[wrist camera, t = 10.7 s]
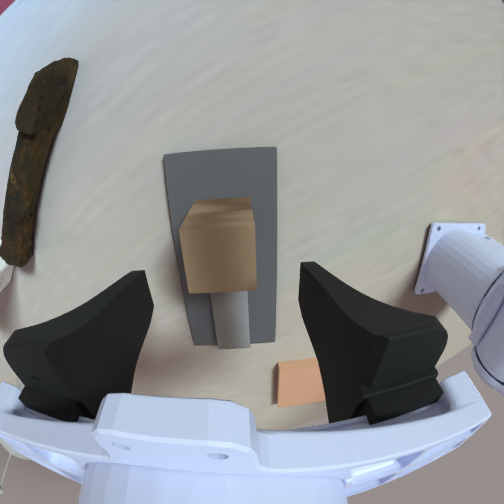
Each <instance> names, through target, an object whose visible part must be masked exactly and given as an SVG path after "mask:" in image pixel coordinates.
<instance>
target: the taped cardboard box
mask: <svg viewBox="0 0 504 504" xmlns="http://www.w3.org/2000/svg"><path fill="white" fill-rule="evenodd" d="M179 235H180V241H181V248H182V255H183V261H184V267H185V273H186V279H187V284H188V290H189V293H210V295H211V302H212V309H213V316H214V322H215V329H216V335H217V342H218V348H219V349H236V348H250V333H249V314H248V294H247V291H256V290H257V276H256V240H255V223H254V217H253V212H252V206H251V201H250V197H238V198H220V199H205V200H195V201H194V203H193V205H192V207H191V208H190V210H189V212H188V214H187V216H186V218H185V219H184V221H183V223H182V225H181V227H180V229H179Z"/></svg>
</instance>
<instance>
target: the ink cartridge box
mask: <svg viewBox="0 0 504 504" xmlns="http://www.w3.org/2000/svg"><path fill="white" fill-rule="evenodd" d="M1 243H2V240H1V239H0V245H1ZM13 268H14V265H8V264H6V262H5V261H4V260H3V259H2V258H1V257H0V292H1V291H2V290H3V289H4V288H5V287H6V286H7V285H8V283H9V282H10V281H11V277H12V272H13Z"/></svg>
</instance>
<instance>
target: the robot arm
mask: <svg viewBox="0 0 504 504" xmlns="http://www.w3.org/2000/svg"><path fill="white" fill-rule="evenodd" d="M437 228H438V229H437ZM485 229H486V225H485V224H483V223H432V224H431V226H430V230H429V235H428V239H427V244H426V248H425V253H424V257H423V261H422V265H421V268H420V272H419V276H418V279H417V283H416V286H415V289H414V292H415V293H416V294H417V295H419V294H425V293H430V292H436V291H437V293H438V294H439V295H440V296H441V297H442V298H443V299H444V300H445V301H446V302H447V303H448V304H449V305H450V307H451V308H452V309H453V310H454V311H455V312H456V313H457V314H458V316H459V317H460V318H461V319H462V320H463V321H464V322H465V324H466V325H467V326H468V327H469V328H470V329H471V331H472V332H471V334H470V336H469V339H470V340H471V342H472V343H473V344H474V346H473V348H472V351H471V356H472V361H473V366H474V368H475V371H476V372H477V374H478V376H479V377H480V378H481V379H482V380H483V382H485V383H486V384H487V385H488V386H489V387H491V388H493V389H495V390H497V391H498V392H499V393H500V394H502V395H503V396H504V246H503V245H501V244H500V243H498V242H497V241H495V240H494V239H492V238H491V237H489V236H488V235H486V234H485ZM298 300H299V305H300V310H301V314H302V318H303V321H304V324H305V326H306V329H307V332H308V335H309V337H310V340H311V343H312V345H313V348H314V351H315V354H316V357H317V360H318V365H319V369H320V374H321V378H322V383H323V388H324V394H325V400H326V406H327V412H328V419H329V424H324V425H318V426H312V427H305V428H298V429H290V430H263V429H256V425H255V417H254V416H253V414H252V413H251V411H250V410H249V409H248V408H246V407H245V406H242V405H240V404H237V403H235V402H233V401H230V400H222V399H214V398H182V397H164V396H151V395H140V394H131V390H132V383H133V378H134V372H135V367H136V363H137V360H138V357H139V354H140V351H141V348H142V345H143V342H144V340H145V337H146V334H147V331H148V328H149V326H150V322H151V318H152V313H153V308H154V304H153V301H152V297H151V293H150V290H149V286H148V282H147V278H146V274H145V270H139V271H132V272H130V273H128V274H127V275H125V276H124V277H122V278H121V279H119V280H118V281H116V282H115V283H114V284H112V285H111V286H109V287H108V288H107V289H105V290H104V291H102V292H101V293H99V294H98V295H97V296H95V297H94V298H92V299H91V300H89V301H88V302H86V303H84V304H83V305H81V306H79V307H77V308H75V309H74V310H72V311H70V312H68V313H65V314H63V315H61V316H59V317H57V318H54V319H52V320H49V321H47V322H44V323H41V324H38V325H34V326H30V327H26V328H22V329H18V330H15V331H14V332H13V334H12V335H11V336H10V338H9V339H8V340H7V342H6V343H5V345H4V347H3V352H4V356H5V358H6V360H7V362H8V364H9V365H10V367H11V368H12V370H13V371H14V372H15V374H16V375H17V376H18V378H19V379H20V380H21V382H22V383H23V384H24V385H25V386H24V388H23V390H21V389H19V388H18V387H16V386H14V385H12V384H9V383H7V382H4V381H2V383H1V385H0V438H1V439H3V440H4V441H5V442H6V443H7V444H8V445H10V446H11V447H12V448H13V449H14V450H16V451H17V452H19V453H21V454H22V455H24V456H26V457H28V458H30V459H31V460H33V461H35V462H37V463H39V464H41V465H43V466H45V467H47V468H48V469H51V470H52V471H54V472H57V473H59V474H61V475H63V476H65V477H67V478H69V479H72V480H74V481H77V482H79V483H81V484H82V486H81V491H80V496H79V500H78V504H348V503H347V498H346V497H347V496H351V495H354V494H357V493H360V492H363V491H366V490H369V489H372V488H374V487H377V486H380V485H382V484H385V483H387V482H390V481H392V480H395V479H397V478H399V477H401V476H404V475H406V474H408V473H410V472H412V471H414V470H416V469H418V468H420V467H422V466H424V465H426V464H428V463H430V462H432V461H434V460H436V459H438V458H440V457H441V456H443V455H445V454H447V453H448V452H450V451H452V450H454V449H455V448H457V447H459V446H460V445H461V444H462V443H464V442H465V441H466V440H467V439H468V438H469V437H470V436H471V435H472V434H473V433H475V432H476V431H477V429H479V428H480V427H481V426H482V425H483V424H484V423H485V422H486V421H487V419H489V418H490V417H491V412H490V410H489V409H488V407H487V405H486V404H485V402H484V400H483V399H482V397H481V395H480V394H479V392H478V390H477V389H476V387H475V386H474V384H473V383H472V381H471V379H470V378H469V376H468V375H467V374H466V372H465V371H462V372H460V373H457V374H455V375H453V376H450V377H448V378H446V379H444V380H443V381H442V382H440V383H438V381H437V380H436V377H437V375H438V372H437V370H436V369H435V365H436V364H437V362H438V360H439V358H440V356H441V355H442V353H443V351H444V349H445V346H446V344H447V339H448V334H447V331H446V329H445V328H444V327H443V326H442V324H441V323H440V322H439V321H438V319H437V318H436V317H435V316H430V315H425V314H419V313H414V312H410V311H406V310H403V309H399V308H396V307H393V306H390V305H387V304H385V303H382V302H379V301H377V300H375V299H373V298H371V297H369V296H366V295H364V294H362V293H361V292H359V291H357V290H355V289H354V288H352V287H350V286H349V285H347V284H345V283H344V282H342V281H341V280H339V279H338V278H337V277H335V276H334V275H332V274H331V273H329V272H328V271H327V270H325V269H324V268H323V267H321V266H320V265H318V264H317V263H315V262H301V266H300V283H299V297H298Z"/></svg>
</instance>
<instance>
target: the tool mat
mask: <svg viewBox="0 0 504 504" xmlns="http://www.w3.org/2000/svg"><path fill="white" fill-rule="evenodd" d="M164 166H165V176H166V185H167V193H168V202H169V209H170V217H171V224H172V231H173V237H174V244H175V250H176V256H177V262H178V268H179V273H180V279H181V284H182V289H183V294H184V299H185V304H186V309H187V314H188V318H189V323H190V327H191V332H192V336H193V340H194V345H218V342H217V335H216V329H215V322H214V316H213V309H212V302H211V295H210V293H189V290H188V284H187V279H186V273H185V267H184V261H183V255H182V248H181V241H180V235H179V229H180V227H181V225H182V223H183V221H184V219H185V218H186V216H187V214H188V212H189V210H190V208H191V207H192V205H193V203H194V201H195V200H205V199H220V198H238V197H250V201H251V206H252V212H253V217H254V223H255V240H256V276H257V290H256V291H247V294H248V314H249V333H250V344H253V343H268V342H275V326H276V283H277V148H276V147H258V148H233V149H217V150H204V151H193V152H183V153H174V154H165V155H164Z"/></svg>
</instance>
